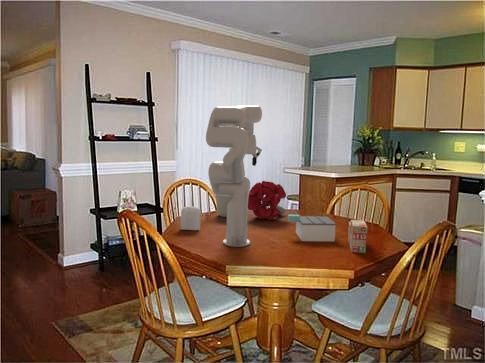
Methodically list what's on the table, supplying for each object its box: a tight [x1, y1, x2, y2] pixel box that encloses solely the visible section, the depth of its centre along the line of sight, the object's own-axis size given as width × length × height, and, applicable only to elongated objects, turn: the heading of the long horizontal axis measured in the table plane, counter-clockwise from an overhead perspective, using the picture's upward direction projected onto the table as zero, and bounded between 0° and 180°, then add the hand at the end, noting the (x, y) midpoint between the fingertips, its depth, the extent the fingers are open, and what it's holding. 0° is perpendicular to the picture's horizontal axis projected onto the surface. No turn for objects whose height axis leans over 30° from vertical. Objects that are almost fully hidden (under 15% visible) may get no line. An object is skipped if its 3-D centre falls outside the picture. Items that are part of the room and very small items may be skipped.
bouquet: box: [248, 180, 287, 220], centre depth 247 cm, size 22×24×30 cm
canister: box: [215, 195, 233, 218], centre depth 250 cm, size 18×18×21 cm
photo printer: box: [180, 205, 201, 232], centre depth 214 cm, size 10×4×12 cm, turn 84°
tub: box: [295, 222, 337, 242], centre depth 205 cm, size 16×16×8 cm
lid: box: [287, 214, 337, 226], centre depth 204 cm, size 22×16×3 cm
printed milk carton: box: [347, 219, 369, 254], centre depth 190 cm, size 21×6×12 cm, turn 170°
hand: (245, 165), depth 208 cm, fingers open, 9 cm apart
